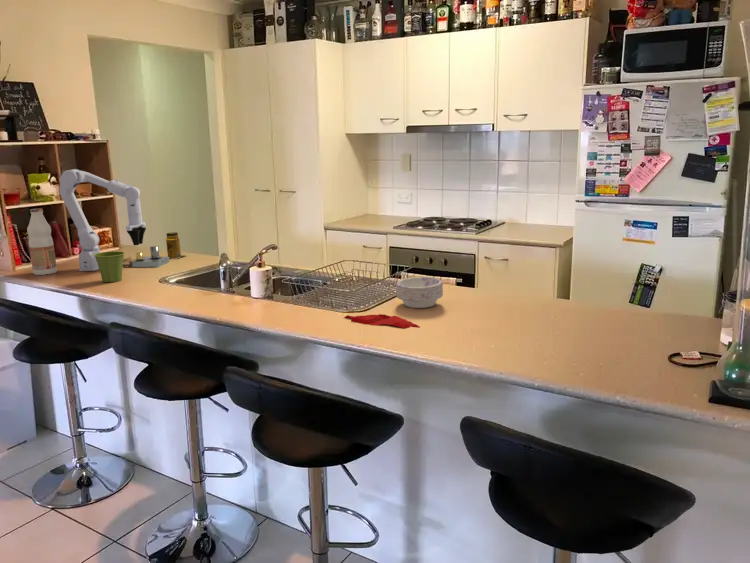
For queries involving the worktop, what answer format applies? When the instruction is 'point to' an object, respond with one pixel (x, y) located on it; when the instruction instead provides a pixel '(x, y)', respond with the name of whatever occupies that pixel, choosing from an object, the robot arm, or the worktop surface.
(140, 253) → the pin
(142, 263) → the socket block
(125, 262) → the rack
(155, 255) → the silver metal cylinder
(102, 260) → the plant pot
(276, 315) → the worktop surface
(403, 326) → the cloth
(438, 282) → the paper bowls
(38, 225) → the fruit juice
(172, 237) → the condiment
